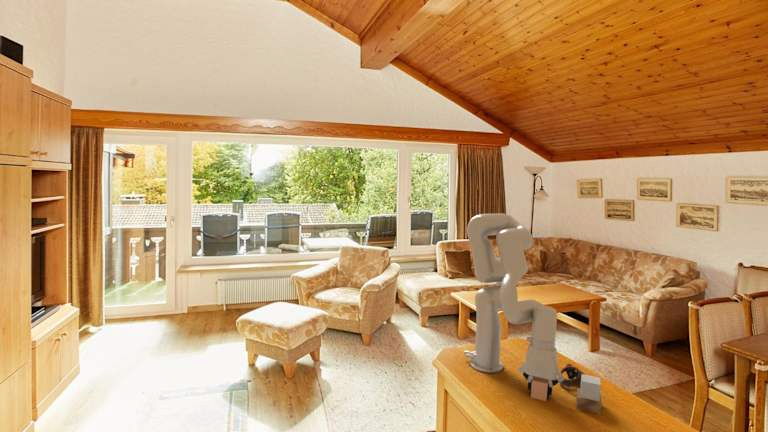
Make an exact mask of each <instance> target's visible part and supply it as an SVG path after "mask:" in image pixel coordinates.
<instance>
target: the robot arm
mask: <svg viewBox="0 0 768 432" xmlns="http://www.w3.org/2000/svg"><path fill="white" fill-rule="evenodd" d="M466 233H467V238H468V242H469V244H470V245H469V246H470V249H471V254H472V262H473V269H474V275H475V279H476V280H477V282H478V283H481V284H492V283H495V284H496V285H490V286H484V287H481V288H480V289H478V290H477V292H476V293H475V296H474V304H475V310H476V311H475V312H476V323H475V343H474V344H475V346H474V350H472V351H471V350H466V349H465V350H464V352H463V355H464V356H465V358H467V359H470V362H469V364H470V366H471V367H472V368H473V369H475V370H477V371H479V372H483V373H492V374H495V373H499V372H501V371H502V370H503V369H504V364H503V362H502V361H501V360H500V357H501V339H502V320H501V317H500V315H499V312H500V311H502V312H503V315H504V318H505V319H506V320H507V322H509V324H512V325H521V324H525V323H531V324H532V325H531V326H532V327H531V336H526V341H527V342H529V344H528V346H527V350H526V353H525V355H526V356H525V362H524V363H522V364H521V365H520V366H519V367H518V369H517V370H518V372H519V373H521V375H522V376H523V377H524V378H525V380H526V381H527V391H528V394H529V395H531V386H532V378H533V376H534V377H538V378H543V379H547V380H548V389H547V400H548V399H550V396H552V395H553V388H554V386H556V385H558V384H560V383H559V382H561V381H564V378H565V376H564V375H563V374H561V372H560V371H561V370H560V369H559V366H558V363H559V361H558V351H557V347H556V334H557V322H558V312H557V310H556V309H555V308H554V307H552V306H548V305H544V304H542V302H540V301H538V300H535V299H524V300H519V301H518V298H519V297H518V296H519V295H518V289H517V286H518V283H519V281H520V280H521V279H522V278H523V276H525V275H526V273H528V271H529V266H528V262H527V259H526V255H525V251H527V250H529V249H531V247H533V243H534V237H533V234H532V233H531V232H530V229H528V228H527V227H526V226H525V225H523V224H522V223H520V222H519V221H518V220H517V219H516V218H514V217H513V216H511V215H510V214H507V213H480V214H477V215H474V216H473V217H472V218H470V220H469V221H468V224H467V229H466ZM488 236H496V237H495V238H496V239H495V240H496V245H497V249H498V253H499V257H496V256H495V250H494V245H493V244H492V242H491V240H490V239H489V238H488Z"/></svg>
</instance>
